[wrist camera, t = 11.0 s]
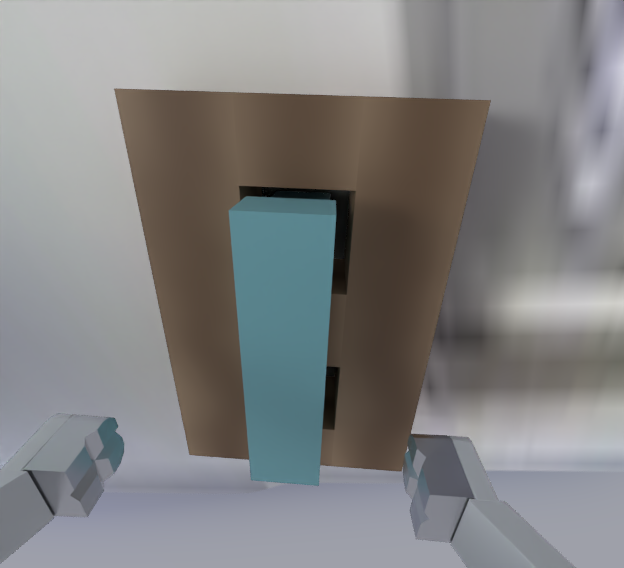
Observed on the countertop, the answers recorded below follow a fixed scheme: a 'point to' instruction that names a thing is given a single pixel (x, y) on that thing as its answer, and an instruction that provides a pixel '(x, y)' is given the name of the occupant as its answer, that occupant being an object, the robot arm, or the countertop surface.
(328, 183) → the wooden board with holes
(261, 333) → the teal long block
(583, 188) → the countertop surface
